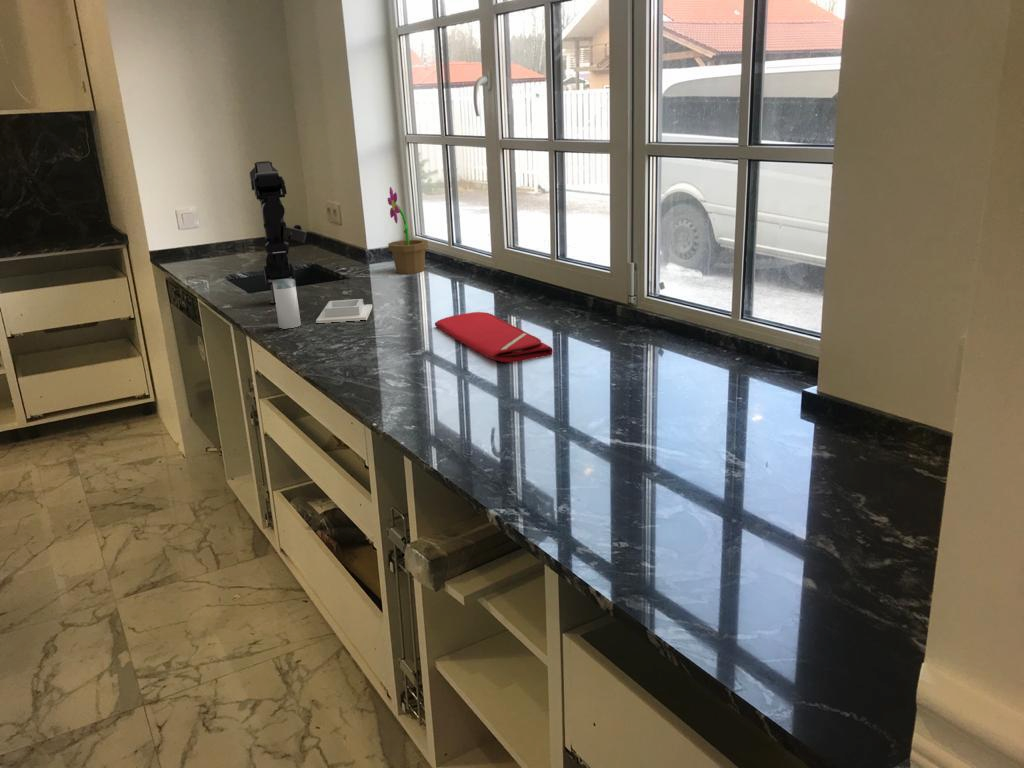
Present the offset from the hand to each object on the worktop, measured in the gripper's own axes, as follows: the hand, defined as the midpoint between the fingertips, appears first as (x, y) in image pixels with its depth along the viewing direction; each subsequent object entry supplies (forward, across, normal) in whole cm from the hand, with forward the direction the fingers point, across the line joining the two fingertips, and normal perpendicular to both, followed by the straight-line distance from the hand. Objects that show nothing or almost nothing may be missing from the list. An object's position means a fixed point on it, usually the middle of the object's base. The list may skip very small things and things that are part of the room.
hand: (281, 273), depth 243 cm
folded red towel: (+16, -49, -48) cm, 71 cm away
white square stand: (+13, -5, -16) cm, 21 cm away
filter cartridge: (+13, -11, 0) cm, 17 cm away
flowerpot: (+12, +52, -44) cm, 69 cm away
